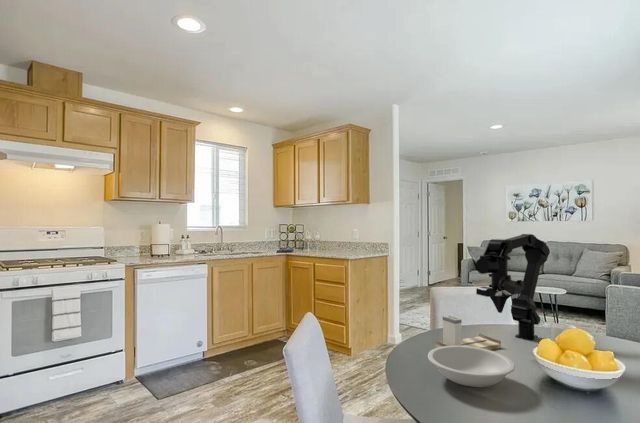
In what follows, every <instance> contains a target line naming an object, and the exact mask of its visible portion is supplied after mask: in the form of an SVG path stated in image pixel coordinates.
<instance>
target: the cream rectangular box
mask: <svg viewBox="0 0 640 423" xmlns="http://www.w3.org/2000/svg"><path fill="white" fill-rule="evenodd" d="M462 323H463V322H462V319H461V318H458V317H455V316H451V315H443V316H442V341H443V342H442V343H443V344H446V345H448V346H461V339H462Z"/></svg>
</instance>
